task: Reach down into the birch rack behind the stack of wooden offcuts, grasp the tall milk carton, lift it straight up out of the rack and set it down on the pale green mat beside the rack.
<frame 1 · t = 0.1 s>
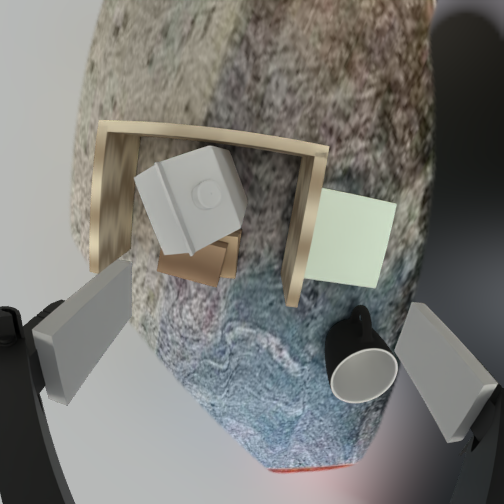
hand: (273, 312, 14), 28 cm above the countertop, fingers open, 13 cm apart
milk carton: (212, 185, 40), on the countertop
offcut stack: (205, 242, 42), on the countertop
rack: (210, 197, 40), on the countertop
mat: (345, 238, 42), on the countertop
mug: (348, 327, 46), on the countertop
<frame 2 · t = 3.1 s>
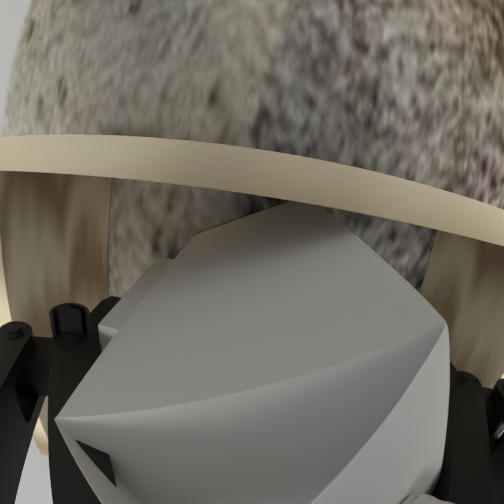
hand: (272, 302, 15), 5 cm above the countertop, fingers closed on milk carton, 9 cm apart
milk carton: (269, 268, 20), on the countertop, touching gripper
rack: (266, 291, 20), on the countertop
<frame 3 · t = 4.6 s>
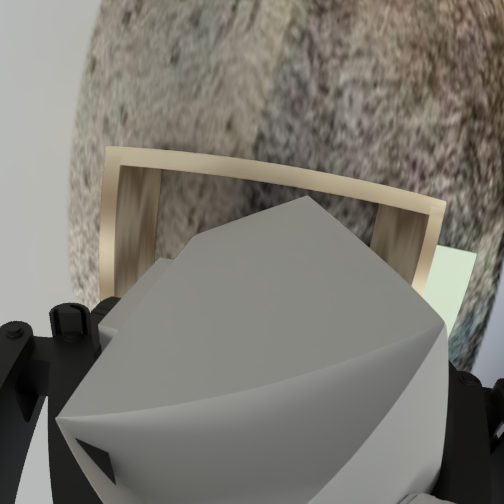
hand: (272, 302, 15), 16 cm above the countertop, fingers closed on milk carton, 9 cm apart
milk carton: (269, 268, 20), point 11 cm above the countertop, touching gripper
rack: (262, 249, 31), on the countertop
mat: (420, 296, 32), on the countertop
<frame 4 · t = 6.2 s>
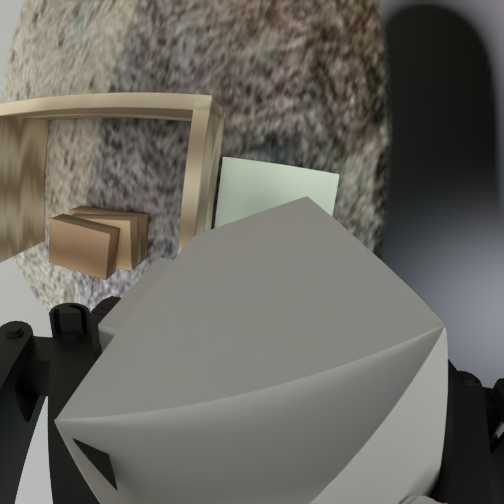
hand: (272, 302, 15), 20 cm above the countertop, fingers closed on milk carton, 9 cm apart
milk carton: (269, 268, 20), point 15 cm above the countertop, touching gripper
offcut stack: (112, 231, 35), on the countertop
rack: (114, 179, 33), on the countertop
mat: (273, 221, 34), on the countertop
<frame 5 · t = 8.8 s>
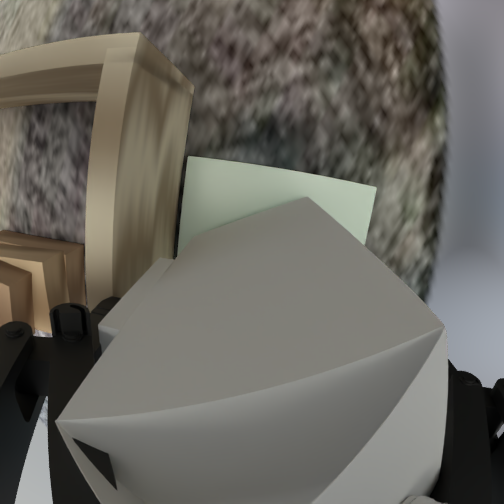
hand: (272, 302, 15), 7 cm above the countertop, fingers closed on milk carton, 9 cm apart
milk carton: (269, 269, 20), point 2 cm above the countertop, touching gripper
offcut stack: (40, 266, 22), on the countertop
rack: (39, 192, 20), on the countertop
mat: (269, 259, 21), on the countertop
when the fingers open (7 cm above the countertop, at t = 9.3 s): milk carton drops 1 cm, resting on mat.
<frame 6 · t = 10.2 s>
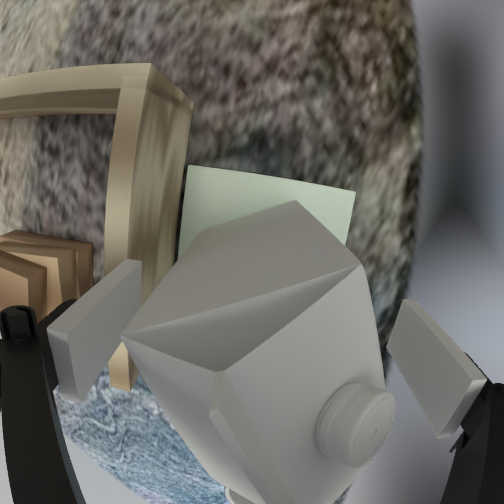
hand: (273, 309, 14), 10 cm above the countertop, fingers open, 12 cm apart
milk carton: (263, 259, 24), resting on mat
offcut stack: (51, 263, 25), on the countertop
rack: (51, 196, 23), on the countertop
mat: (260, 257, 24), on the countertop
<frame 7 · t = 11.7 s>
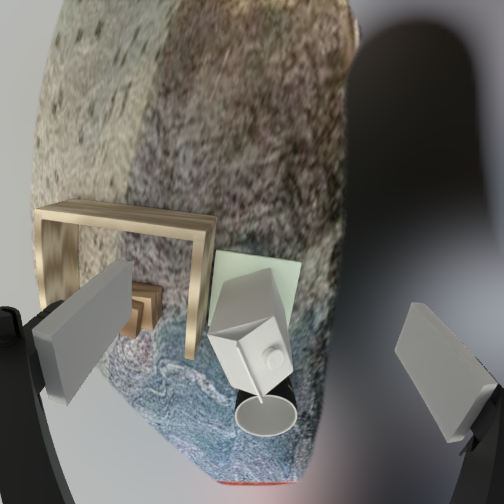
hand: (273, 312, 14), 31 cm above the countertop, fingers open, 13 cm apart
milk carton: (254, 296, 47), resting on mat
offcut stack: (134, 296, 48), on the countertop
rack: (135, 259, 46), on the countertop
mat: (252, 294, 47), on the countertop
mug: (265, 368, 51), on the countertop
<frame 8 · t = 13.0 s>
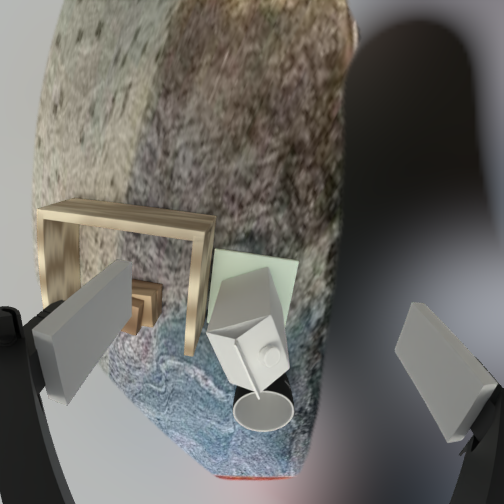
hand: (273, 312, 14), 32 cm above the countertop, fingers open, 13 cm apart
milk carton: (252, 293, 48), resting on mat
offcut stack: (135, 293, 49), on the countertop
rack: (136, 258, 47), on the countertop
mat: (250, 292, 48), on the countertop
mug: (263, 364, 52), on the countertop
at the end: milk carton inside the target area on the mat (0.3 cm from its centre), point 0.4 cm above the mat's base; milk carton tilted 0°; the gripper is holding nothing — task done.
